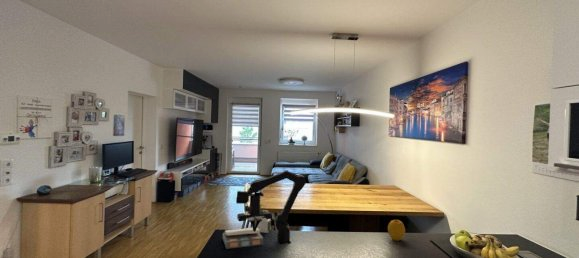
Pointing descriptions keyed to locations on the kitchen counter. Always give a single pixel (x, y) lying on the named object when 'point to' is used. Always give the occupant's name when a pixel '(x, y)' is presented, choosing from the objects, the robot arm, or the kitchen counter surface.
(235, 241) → the switch box
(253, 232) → the rocker
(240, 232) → the rocker
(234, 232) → the rocker
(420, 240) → the kitchen counter surface
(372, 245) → the kitchen counter surface
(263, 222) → the medicine bottle
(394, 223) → the yellow oval fruit
